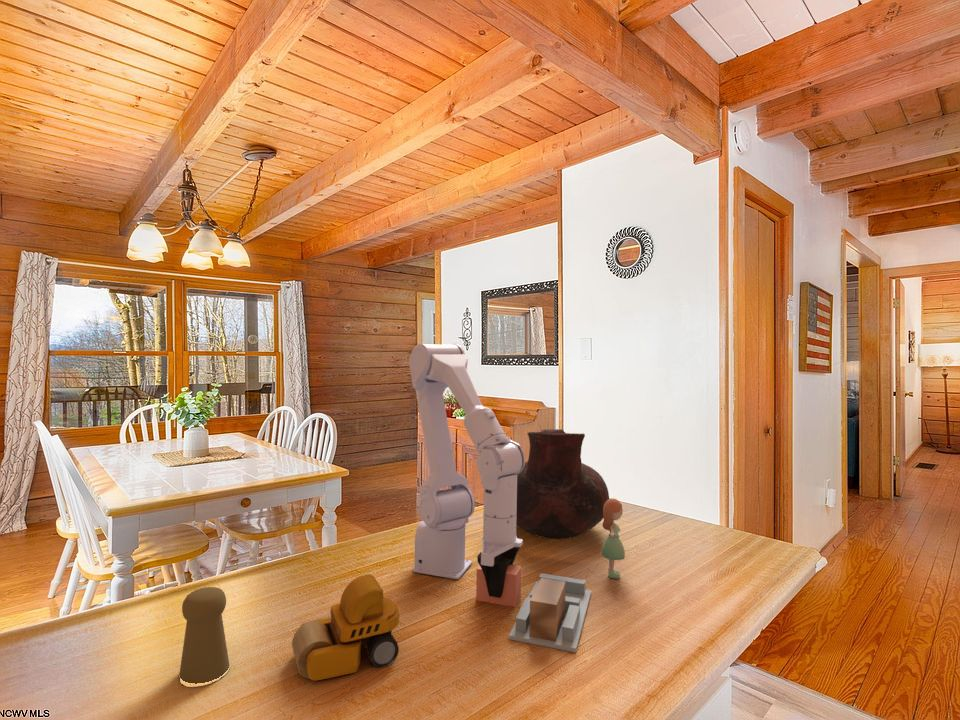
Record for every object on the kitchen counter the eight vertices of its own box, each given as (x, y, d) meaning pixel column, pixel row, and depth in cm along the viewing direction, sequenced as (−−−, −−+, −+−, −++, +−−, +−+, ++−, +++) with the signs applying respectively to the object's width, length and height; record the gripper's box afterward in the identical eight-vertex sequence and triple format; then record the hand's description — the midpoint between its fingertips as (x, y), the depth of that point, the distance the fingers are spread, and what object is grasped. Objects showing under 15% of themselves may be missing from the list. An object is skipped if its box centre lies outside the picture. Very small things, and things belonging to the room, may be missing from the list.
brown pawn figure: (191, 659, 73) (191, 581, 73) (236, 658, 74) (236, 580, 74) (169, 688, 67) (169, 603, 67) (219, 686, 68) (218, 602, 67)
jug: (608, 518, 135) (610, 420, 134) (608, 558, 110) (611, 438, 109) (510, 510, 140) (512, 416, 139) (491, 545, 116) (493, 432, 115)
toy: (626, 593, 95) (628, 510, 94) (601, 591, 96) (603, 508, 95) (622, 563, 108) (623, 490, 107) (600, 561, 109) (601, 488, 108)
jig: (508, 639, 80) (509, 622, 80) (536, 584, 98) (536, 570, 98) (575, 652, 76) (576, 634, 76) (591, 593, 94) (591, 579, 94)
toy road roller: (289, 654, 75) (289, 581, 75) (388, 630, 82) (388, 563, 81) (299, 691, 67) (299, 610, 67) (407, 662, 74) (407, 587, 74)
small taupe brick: (529, 636, 79) (529, 600, 79) (540, 610, 87) (541, 577, 87) (555, 641, 78) (556, 605, 78) (564, 615, 86) (565, 581, 85)
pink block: (476, 600, 92) (476, 568, 91) (482, 590, 95) (483, 560, 95) (515, 607, 89) (516, 574, 89) (520, 597, 93) (521, 566, 93)
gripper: (511, 530, 83) (510, 614, 84) (532, 503, 97) (530, 576, 98) (469, 524, 86) (468, 607, 86) (495, 499, 99) (494, 570, 100)
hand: (498, 590), depth 92 cm, fingers closed on pink block, 4 cm apart
